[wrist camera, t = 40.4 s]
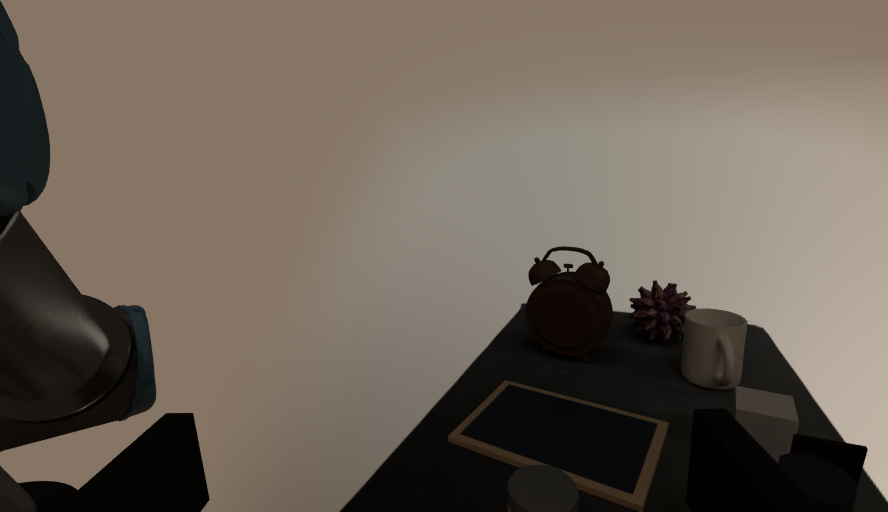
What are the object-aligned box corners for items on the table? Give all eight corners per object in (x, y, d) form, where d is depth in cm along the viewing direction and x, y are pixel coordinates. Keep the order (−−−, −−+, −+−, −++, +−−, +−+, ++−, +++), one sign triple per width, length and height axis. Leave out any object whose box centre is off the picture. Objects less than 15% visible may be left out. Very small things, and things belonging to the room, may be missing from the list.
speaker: (773, 499, 49) (790, 417, 45) (844, 530, 45) (868, 444, 41) (754, 549, 44) (771, 462, 40) (832, 590, 40) (858, 498, 36)
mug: (758, 407, 65) (767, 339, 63) (694, 402, 67) (700, 336, 65) (729, 368, 77) (735, 309, 74) (675, 364, 79) (679, 307, 76)
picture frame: (448, 441, 61) (447, 435, 61) (505, 385, 75) (505, 379, 75) (642, 513, 48) (642, 505, 48) (668, 428, 62) (669, 421, 62)
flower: (631, 333, 96) (695, 326, 92) (634, 356, 85) (707, 349, 80) (621, 279, 95) (686, 270, 90) (622, 295, 83) (696, 285, 79)
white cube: (731, 452, 57) (735, 408, 55) (730, 426, 62) (734, 385, 60) (792, 467, 53) (798, 421, 52) (786, 439, 58) (792, 396, 57)
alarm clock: (614, 354, 84) (618, 245, 79) (603, 371, 78) (608, 254, 73) (537, 339, 91) (537, 239, 87) (522, 353, 86) (522, 247, 81)
